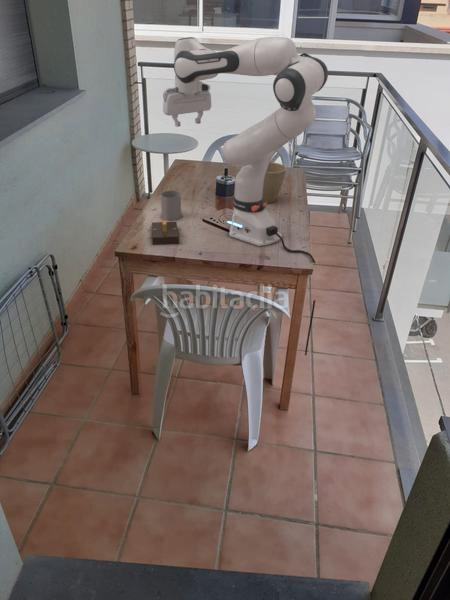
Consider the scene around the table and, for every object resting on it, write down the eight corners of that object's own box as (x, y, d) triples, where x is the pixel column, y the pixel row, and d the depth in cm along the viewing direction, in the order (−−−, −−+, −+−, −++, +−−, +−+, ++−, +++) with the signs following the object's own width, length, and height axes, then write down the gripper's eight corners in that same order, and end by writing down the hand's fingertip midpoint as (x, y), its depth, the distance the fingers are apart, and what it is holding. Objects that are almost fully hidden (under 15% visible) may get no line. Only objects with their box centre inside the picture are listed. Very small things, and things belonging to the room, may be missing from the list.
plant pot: (267, 208, 213) (270, 174, 204) (245, 199, 222) (246, 165, 213) (289, 201, 222) (293, 167, 213) (267, 192, 231) (269, 159, 222)
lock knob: (166, 231, 184) (166, 223, 182) (163, 231, 183) (162, 223, 182) (166, 226, 188) (165, 218, 186) (162, 226, 188) (162, 218, 186)
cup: (173, 210, 209) (172, 189, 203) (185, 216, 204) (184, 194, 198) (157, 215, 204) (156, 193, 198) (170, 221, 199) (169, 199, 193)
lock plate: (178, 243, 182) (178, 236, 180) (152, 244, 181) (152, 237, 179) (176, 228, 194) (176, 221, 192) (152, 229, 192) (151, 222, 191)
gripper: (167, 90, 169) (169, 129, 177) (213, 85, 179) (213, 123, 187) (158, 87, 173) (160, 126, 181) (204, 83, 184) (204, 120, 191)
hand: (188, 124), depth 184 cm, fingers open, 8 cm apart
